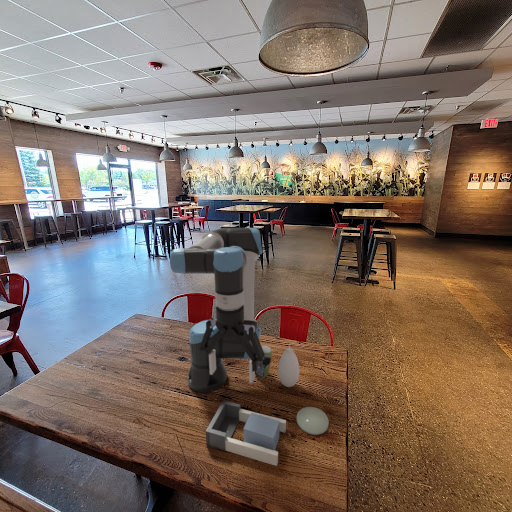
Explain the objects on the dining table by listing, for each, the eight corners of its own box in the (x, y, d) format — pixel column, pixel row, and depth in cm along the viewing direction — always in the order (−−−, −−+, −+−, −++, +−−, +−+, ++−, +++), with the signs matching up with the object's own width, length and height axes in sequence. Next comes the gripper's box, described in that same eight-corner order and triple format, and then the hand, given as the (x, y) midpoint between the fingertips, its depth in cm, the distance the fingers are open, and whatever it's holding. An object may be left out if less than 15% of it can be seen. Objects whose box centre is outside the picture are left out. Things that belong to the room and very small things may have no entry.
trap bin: (206, 445, 78) (205, 431, 77) (223, 412, 89) (223, 400, 88) (225, 450, 76) (224, 436, 75) (240, 417, 87) (240, 404, 86)
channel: (225, 450, 76) (225, 440, 75) (240, 417, 87) (240, 408, 86) (276, 466, 72) (277, 455, 71) (285, 429, 83) (286, 420, 82)
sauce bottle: (301, 381, 104) (302, 339, 99) (295, 395, 97) (296, 350, 93) (282, 375, 107) (282, 335, 103) (275, 388, 100) (275, 345, 96)
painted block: (243, 445, 78) (243, 428, 77) (251, 428, 83) (251, 412, 82) (273, 455, 75) (273, 438, 74) (279, 437, 80) (279, 421, 79)
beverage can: (253, 369, 111) (252, 343, 108) (270, 368, 111) (271, 342, 108) (254, 380, 105) (254, 353, 102) (273, 379, 105) (273, 352, 102)
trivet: (294, 430, 83) (294, 428, 82) (299, 406, 92) (299, 404, 92) (327, 438, 80) (327, 436, 79) (329, 412, 89) (329, 410, 89)
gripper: (183, 305, 72) (188, 375, 77) (269, 317, 65) (268, 393, 70) (197, 295, 79) (201, 360, 84) (276, 305, 72) (275, 375, 77)
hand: (232, 375), depth 77 cm, fingers open, 11 cm apart
